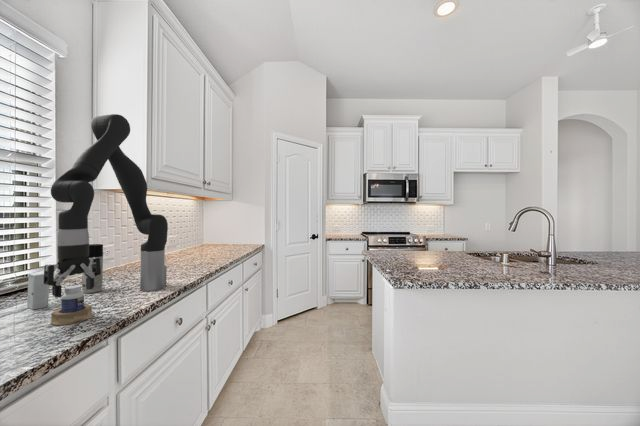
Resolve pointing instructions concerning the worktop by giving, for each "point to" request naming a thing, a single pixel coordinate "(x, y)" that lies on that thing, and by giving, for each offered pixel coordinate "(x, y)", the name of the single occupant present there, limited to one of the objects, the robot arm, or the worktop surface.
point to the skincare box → (37, 291)
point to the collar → (71, 316)
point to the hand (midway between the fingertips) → (74, 293)
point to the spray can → (96, 252)
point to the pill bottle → (72, 299)
